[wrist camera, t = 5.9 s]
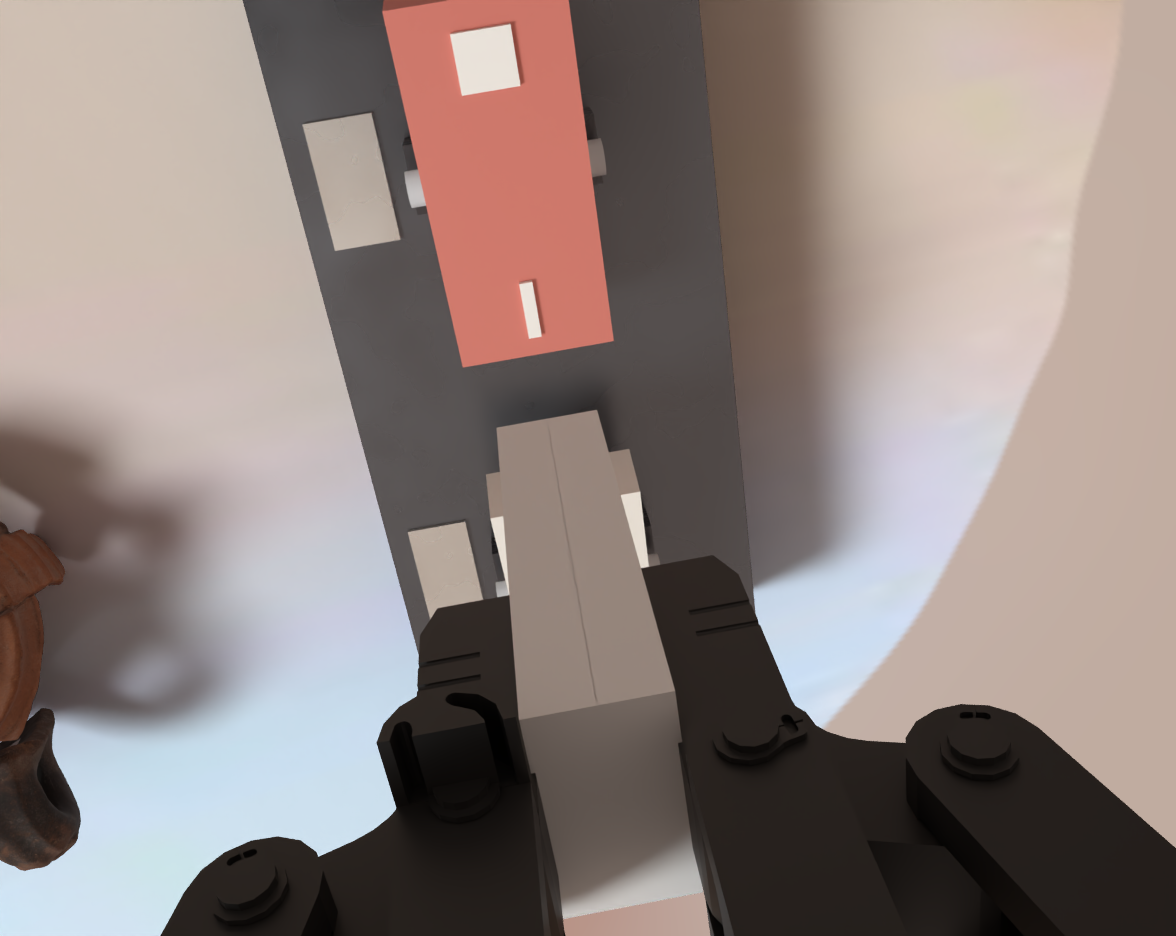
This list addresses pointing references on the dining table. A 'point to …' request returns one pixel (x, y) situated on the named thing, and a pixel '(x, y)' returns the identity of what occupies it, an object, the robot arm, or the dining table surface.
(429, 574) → the rocker switch panel
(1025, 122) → the dining table surface
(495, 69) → the rocker
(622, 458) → the rocker
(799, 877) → the robot arm
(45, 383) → the dining table surface
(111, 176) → the dining table surface
